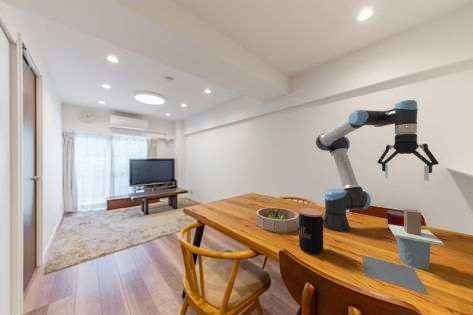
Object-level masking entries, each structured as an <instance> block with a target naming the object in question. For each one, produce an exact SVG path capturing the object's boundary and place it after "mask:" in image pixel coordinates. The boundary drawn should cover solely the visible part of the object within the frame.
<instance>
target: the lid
mask: <svg viewBox="0 0 473 315" xmlns="http://www.w3.org/2000/svg"><path fill="white" fill-rule="evenodd" d="M403 213H404V227H402V226H396V225H390V224H388V223H387V228H388V227H389V228H390V230H391V231H390V230H389V231H390V232H391V233H392V235H393V236H394V237H395V238H396V237H400V238H405V239H411V240H416V241H421V242H427V243H431V244H433V245H439V246H444V245H445V243H444V242H443V241H442V240H440V239H439V238H438V237H437V236H436V235H435V234H433V233H432V232H431V231H430V230H428V229H422V212H421V211H419V210H418V209H410V208H409V209H408V208H403Z"/></svg>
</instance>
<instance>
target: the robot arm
mask: <svg viewBox="0 0 473 315" xmlns="http://www.w3.org/2000/svg"><path fill="white" fill-rule="evenodd" d="M418 110H419V109H418V102H417V101H416V100H415V99H407V100H401V101H398V102H395V104H394V108H391V109H387V110H366V109H359V110H358V109H356V110H353V111H352V112H350V114H349V116H348V118H347V119H346V120H344V121H343V122H341V123H339V124H338V125H336V126H335V127H333V128H331V129H330V130H329V131H327V132H322V133H321V134H319V135H318V136H317V137H316V140H315V145H316V147H317V148H318V149H319V150H321V151H322V152H323V151H325V152H326V151H327V152H329V154H330V156H333V160H334V163H335V166H336V169H337V172H338V174H339V178H340V181H341V184H342V188H331V189H330V188H329V189H327V190H326V191H325V192H324V194H325V195H324V214H323V228H326V229H329V230H332V231H335V232H348V231H350V230H351V229H350V228H351V226H350V222H349V220H348V217H347V211H354V210H355V211H357V210H358V211H360V210H366V209H368V208H369V207H370V206H371V202H372V199H371V195H370V194H369V192H367V191H365V190H363V187H362V186H361V185H359V184H358V181H357V178H356V175H355V173H354V170H353V167H352V164H351V161H350V158H349V156H348V152H349V149H350V145H351V141H350V140H349V138H348V137H347V135H348V134H351V133H352V132H354V131H356V130H358V129H360V128H362V127H364V126H373V127H375V128H379V127H385V126H390V125H394V144H393V145H392V144H386V146H385V150H384V151H383V152H382V154H381V156H380V157H379V159H378V160H377V162H376V163H377V164H379V165H381V170H382V172H384V179H388V176H389V175H388V174H389V172H388V171H389V170H388V169H389V168H388V166H389V165H388V163H389V162H390V161H392V159H393V158H395V157H396V156H397V155H398V154H400V155H404V154H407V155H411V154H413V155H414V156H416V157H417V158H418V159H419V160H420V161H421V162H422V163H424V164H425V165H424V168H423V172H424V173H423V174H424V175H423V179H424V181H426V182H427V181H428V182H429V180H430V178H429V177H430V176H429V174H432V173H433V166H437V165H439V161H438V160H437V159H436V157H435V155H434V154H433V153H432V152H431V150H430V149H429V146H428V144H427V143H423V144H419V143H418V134H417V133H418V122H417V121H418ZM392 148H393V149H394V152H393V153H391V155H390V156H388V157H387V158H385V157H386V156H387V154H388V153H389V151H390V150H392ZM418 148H419V149H422V151H423V152H424V154H425V155H426V156H427V158H428V159H429V160H428V159H427V158H426V157H425V156H423V155H422V154H421V153H420V152H419V151H418V150H417V149H418ZM384 159H385V160H384ZM383 160H384V161H383Z"/></svg>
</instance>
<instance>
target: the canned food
mask: <svg viewBox="0 0 473 315" xmlns="http://www.w3.org/2000/svg"><path fill="white" fill-rule="evenodd" d="M388 224H390V225H396V226H402V227H404V212H401V211H397V210H387V225H388ZM387 230H388V231H390V232H392V231H391V230H390V228H389V227H388V226H387Z"/></svg>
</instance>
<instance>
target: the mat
mask: <svg viewBox="0 0 473 315" xmlns="http://www.w3.org/2000/svg"><path fill="white" fill-rule="evenodd" d="M361 258H362V263H363V264H362V265H363V271H364V272H363V273H364V276H365V277H368V278H371V279H374V280H377V281H381V282H385V283H386V284H391V285H394V286H398V287H400V288H403V289H406V290H411V291H413V292H416V293H417V292H418V293H420V294H423V295H427V296H430V294H429V293H428V291H427V289H426V287H425V285H424V284H423V283H422V281H421V278H420V277H419V276H418V274H417V272H416V270H415V268H414V267H411V266H408V265H403V264H399V263H395V262H391V261H386V260H383V259H379V258H376V257H372V256H371V257H370V256H368V255H367V256H366V255H361Z"/></svg>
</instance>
